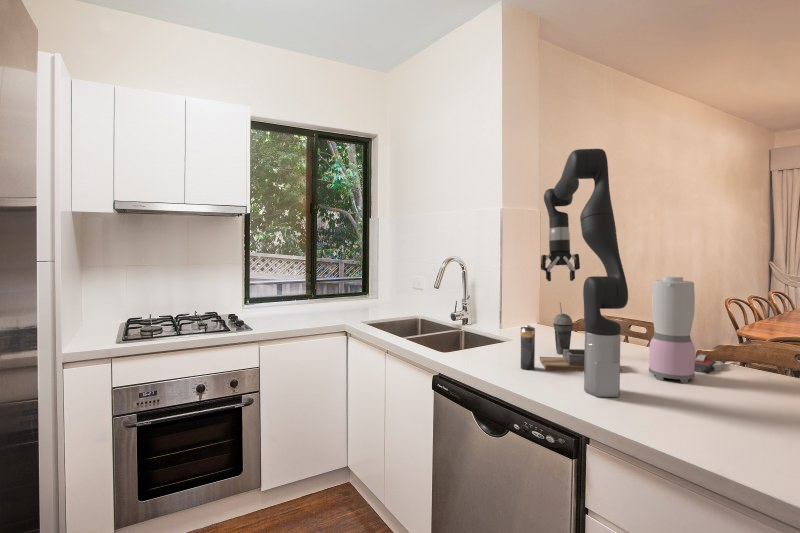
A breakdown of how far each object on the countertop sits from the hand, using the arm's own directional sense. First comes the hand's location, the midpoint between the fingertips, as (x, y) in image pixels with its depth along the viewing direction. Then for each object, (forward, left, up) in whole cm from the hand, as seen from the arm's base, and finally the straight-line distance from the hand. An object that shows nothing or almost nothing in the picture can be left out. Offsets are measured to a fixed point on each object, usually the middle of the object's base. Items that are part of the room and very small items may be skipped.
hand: (560, 281), depth 163 cm
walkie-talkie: (-15, -45, -29) cm, 55 cm away
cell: (-22, +16, -28) cm, 40 cm away
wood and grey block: (-18, -2, -28) cm, 34 cm away
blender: (-26, -28, -29) cm, 48 cm away
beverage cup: (0, -1, -29) cm, 29 cm away
